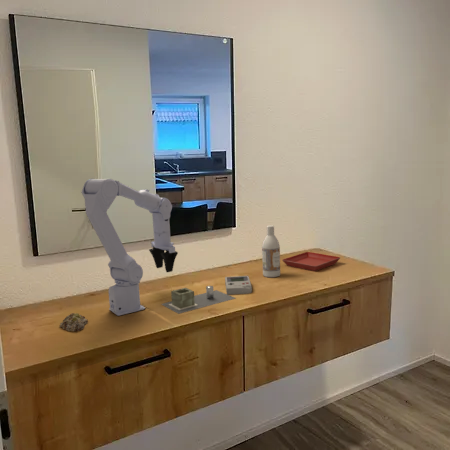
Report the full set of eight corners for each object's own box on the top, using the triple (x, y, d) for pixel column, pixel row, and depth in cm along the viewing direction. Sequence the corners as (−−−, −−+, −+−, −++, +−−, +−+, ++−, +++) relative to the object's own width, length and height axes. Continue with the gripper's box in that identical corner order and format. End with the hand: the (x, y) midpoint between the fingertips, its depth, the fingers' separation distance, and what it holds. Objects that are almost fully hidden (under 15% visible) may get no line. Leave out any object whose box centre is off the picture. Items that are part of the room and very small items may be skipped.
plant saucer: (315, 273, 183) (315, 265, 182) (281, 266, 196) (281, 259, 195) (341, 264, 195) (341, 257, 194) (307, 258, 208) (307, 251, 207)
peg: (209, 299, 152) (208, 288, 151) (205, 298, 154) (204, 286, 153) (215, 298, 153) (214, 286, 153) (211, 296, 155) (210, 285, 155)
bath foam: (270, 278, 177) (269, 228, 174) (259, 275, 182) (257, 226, 179) (284, 275, 181) (282, 225, 178) (272, 272, 186) (271, 223, 183)
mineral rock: (55, 316, 139) (81, 305, 142) (61, 329, 141) (86, 317, 144) (60, 329, 130) (87, 316, 133) (66, 342, 131) (93, 329, 134)
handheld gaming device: (226, 298, 157) (226, 287, 156) (225, 285, 172) (224, 276, 171) (252, 297, 157) (252, 286, 157) (248, 284, 172) (248, 275, 171)
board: (178, 316, 140) (178, 313, 140) (161, 306, 150) (160, 303, 150) (236, 301, 153) (236, 297, 152) (216, 292, 162) (216, 289, 162)
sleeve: (180, 308, 144) (179, 294, 144) (172, 304, 149) (171, 291, 148) (194, 304, 147) (193, 291, 146) (186, 300, 152) (185, 287, 151)
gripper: (182, 232, 155) (184, 271, 157) (162, 227, 167) (165, 264, 169) (163, 235, 151) (166, 275, 153) (144, 230, 163) (147, 267, 165)
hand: (164, 269), depth 161 cm, fingers open, 7 cm apart
